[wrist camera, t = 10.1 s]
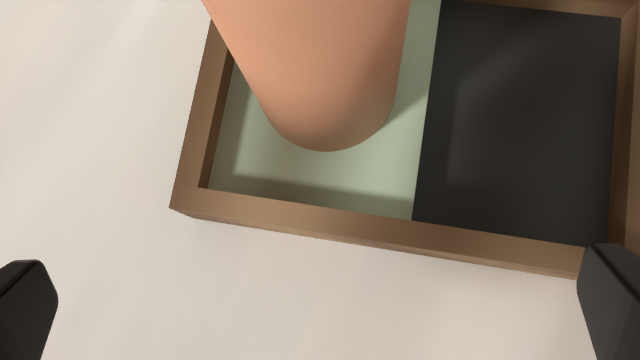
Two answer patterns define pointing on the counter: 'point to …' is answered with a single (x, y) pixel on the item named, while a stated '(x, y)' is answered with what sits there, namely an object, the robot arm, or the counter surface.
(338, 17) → the smooth tapered peach-colored object
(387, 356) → the counter surface
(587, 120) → the box
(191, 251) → the counter surface
